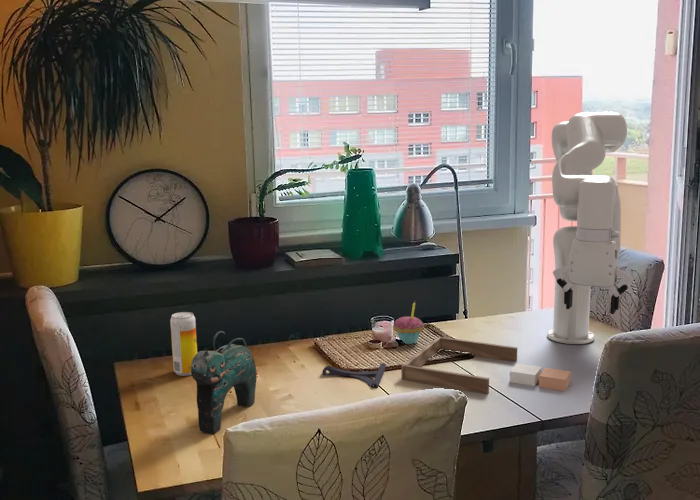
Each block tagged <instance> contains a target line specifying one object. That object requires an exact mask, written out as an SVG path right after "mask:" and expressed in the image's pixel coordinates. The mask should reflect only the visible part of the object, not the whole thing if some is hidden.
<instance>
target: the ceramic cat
mask: <svg viewBox="0 0 700 500" xmlns="http://www.w3.org/2000/svg"><path fill="white" fill-rule="evenodd" d="M220 334H222V335H223V336H225V335H226V333H225V331H223V330H219V331H217V332H216V333H215V334H214V336H213V339H212V347H213V350H214V351H213V350H200V351H197V354H196V355H195V356H194V358H193V360H192V364H191V374H192V375H191V377H192V379H193V380H194V381H195V382H196V404H197V405H196V406H197V413H198V414H197V416H198V428H199V432H200V433H203V434H209V435H215V434H216V433H217V432H219V431H220V430H221V427H222V425H221V423H222V417H223V416H222V414H223V409H224V405H225V401H226V397H227V395H228V393H229V392H230V390H231V389H232V388H233V389H234V393H235V394H234V395H235V398H236V405H237V407H243V408H249V407H252V406H253V405H254V404H255V402H256V401H255V399H256V388H257V387H256V386H257V378H258V377H257V367H256V362H255V359H254V356H253V354H252V352H251V350H250V349H249V348H248V345H247V341H246V340H245V339H244V338H243V337H237V338H233V339H232V340H231V341H230V342H229V343H228V344H225V345H223V346H221V347H219V348H218V349H217V350H216V342H215V341H216V339H217V337H218V335H220ZM237 341H242V342H243V344H244V345H240V344H234V343H233V342H237Z"/></svg>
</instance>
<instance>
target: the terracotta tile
mask: <svg viewBox="0 0 700 500" xmlns="http://www.w3.org/2000/svg"><path fill="white" fill-rule="evenodd" d="M571 383H572V371H571V370H570V371H569V370H564V369H563V370H562V369H556V368H551V367H545V368H544V369H543V370H542V373H541V374H540V376H539V381H538V387H540V388H546V389H550V390H557V391H563V392H565V391H566V390H567V389H568V387H569V386H570V384H571Z"/></svg>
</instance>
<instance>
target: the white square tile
mask: <svg viewBox="0 0 700 500" xmlns="http://www.w3.org/2000/svg"><path fill="white" fill-rule="evenodd" d="M542 369H543V367H542V366H537V365H536V366H535V365H529V364H523V363H516V364H515V365H514V366H513V368H511V369H510V371H509V382H510V383H513V384H514V383H515V384H519V385H526V386H532V387H535V386H536V385H537V384H539V376H540V374H541V373H542V372H543V370H542Z"/></svg>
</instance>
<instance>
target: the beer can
mask: <svg viewBox="0 0 700 500" xmlns="http://www.w3.org/2000/svg"><path fill="white" fill-rule="evenodd" d="M169 321H170V337H171V338H170V339H171V351H172V352H171V353H172V366H173V367H172V369H173V372H174V373H175V375H177V376H180V377H181V376H183V377H185V376H192V374H191V364H192V360H193V358H194V356H195V355H196V354H197V353H198V343H197V341H198V340H197V327H196V326H197V323H196V317H195V315H194V313H193V312H191V311H190V312H189V311H181V312H179V311H178V312H175V313H173V314H171V317H170V320H169Z"/></svg>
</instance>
